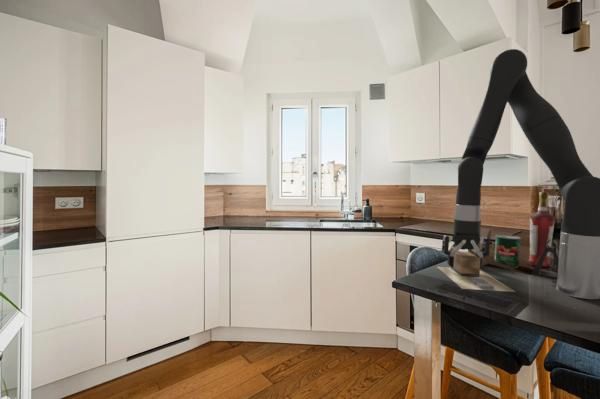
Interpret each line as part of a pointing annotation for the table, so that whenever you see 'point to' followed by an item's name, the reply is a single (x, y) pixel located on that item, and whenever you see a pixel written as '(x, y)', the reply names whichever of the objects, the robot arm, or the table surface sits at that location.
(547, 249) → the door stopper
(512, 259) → the canned tomato
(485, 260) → the wooden block
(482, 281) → the grey chip
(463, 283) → the birch board
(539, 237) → the liquor
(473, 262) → the walnut block
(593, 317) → the table surface
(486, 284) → the grey chip
